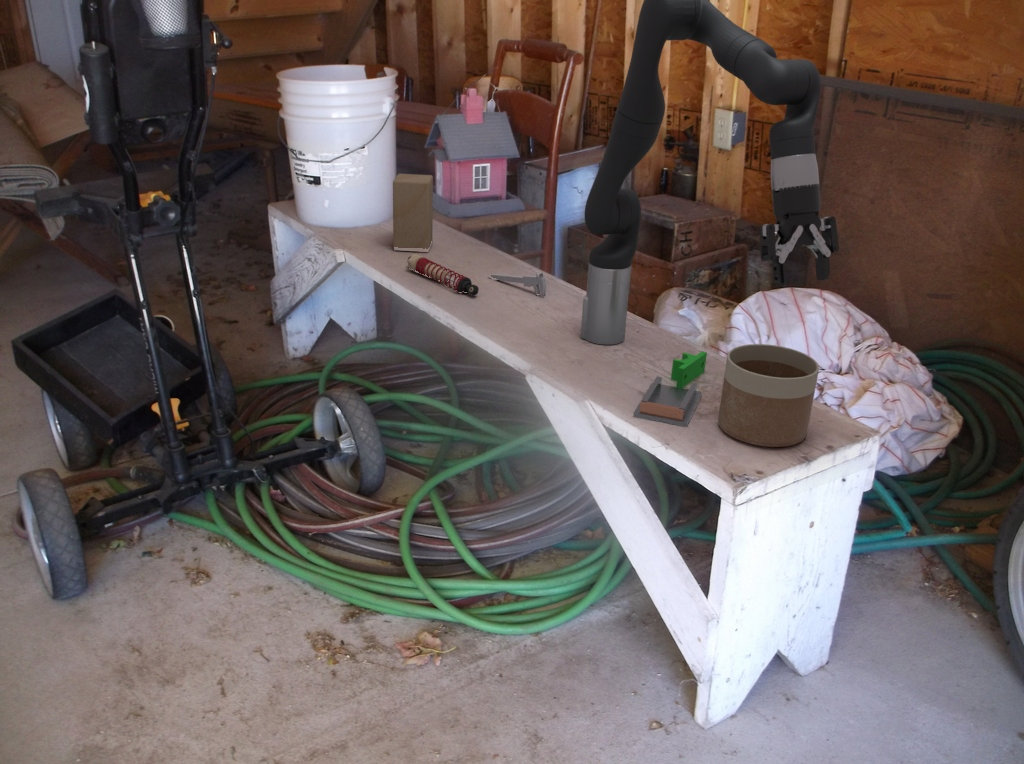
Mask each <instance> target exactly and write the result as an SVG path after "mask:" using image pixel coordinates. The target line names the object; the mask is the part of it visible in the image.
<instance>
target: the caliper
mask: <svg viewBox="0 0 1024 764" xmlns="http://www.w3.org/2000/svg"><path fill="white" fill-rule="evenodd" d="M490 276H491V277H493V278H496V279H498V280H501V281H500V282H508V283H515V284H516V283H517V284H523V287H527V288H530V287H533V290H534V294H535V295H536V294H540V297H541V296H545V297H546V293H547V283H546V277H544V273H543V272H536V274H535V275H524V276H516V275H508V274H506V275H505V274H496V273H493V274H490Z"/></svg>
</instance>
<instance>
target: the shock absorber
mask: <svg viewBox="0 0 1024 764" xmlns="http://www.w3.org/2000/svg"><path fill="white" fill-rule="evenodd" d="M407 267H408V269H409V268H410V269H413V270H414V271H415V270H416V271H418V272H419V273H421V274H424V275H425V274H426V275H427V276H428V277H429V276H430V277H432V279H436V281H438V280H440V283H442V284H443V283H445V285H446V286H447V285H449V287H450V288H449V289H451V288H452V287H454V288H453V289H454V290H453V291H455V290H457V291H458V292H462V291H464V292H468V293H467V294H469V295H470V296H476V295H478V293H479V286H478V285H475V284H473V283H472V280H471V278H469V277H467V276H465V275H464V274H459V273H458V272H455V270H451V269H450V268H447V267H446V266H442V265H441V264H438V263H437V262H434V261H432V260H430V259H428V258H426V256H422V255H419V254H416V253H413V254H412V255H409V256H408V258H407ZM410 269H409V270H410ZM414 271H413V272H414ZM421 274H420V275H421ZM453 276H454V278H452V277H453ZM432 279H431V280H432ZM448 280H449V282H448V284H447V283H446V282H447V281H448ZM452 282H453V284H452V286H451V285H450V284H451V283H452ZM442 284H441V285H442ZM446 286H445V287H446ZM458 292H457V293H458Z"/></svg>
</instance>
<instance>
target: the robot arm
mask: <svg viewBox="0 0 1024 764" xmlns="http://www.w3.org/2000/svg"><path fill="white" fill-rule="evenodd" d="M685 40H688V41H689V40H690V41H694V42H697V43H700V44H702V45H705V46H707V47H708V48H709V49H710V50H711V54H712V57H713V58H714V60H715V61H716V63H717V64H718V65H719V66H720V67H721V68H722V69H724V70H725V71H727V73H729V74H731V75H732V76H734V77H736V78H737V79H738V80H740V81H742V82H743V84H744V85H745V86H746V87H747V89H748V90H749V91H750V93H751V94H752V95H753V96H754V97H755V99H757V100H759V101H760V102H762V103H765V104H766V105H769V106H786V108H785V109H786V110H785V114H784V118H783V120H779V121H776V122H775V123H773V124H771V126H770V128H769V131H768V132H769V136H768V137H769V149H770V150H769V151H770V163H771V164H770V182H771V183H770V184H771V197H772V198H771V199H772V210H773V215H774V216H775V218H776V220H775V223H774V224H773V223H765V224H761V225H760V226H759V249H760V250H759V251H760V260H761V261H762V262H767V263H769V264H771V267H772V279H773V283H774V284H775V286H776V287H778V288H779V287H781V288H784V287H788V286H789V284H788V272H787V271H788V269H787V263H785V261H786V259H787V258H788V256H789V254H790V253H791V252H792V251H793V249H794V248H800V247H807V248H808V249H810V251H811V253H813V255H814V256H815V258H814V260H815V262H814V263H815V274H816V277H815V278H816V280H817V281H828V280H829V278H830V274H831V270H830V269H831V268H830V256H831V255H832V254H834V253H837V252H838V251H839V249H840V246H839V244H840V243H839V238H838V236H839V235H838V229H837V228H838V227H837V220H836V217H835V216H823V217H820V216H819V215H820V214H819V211H821V209H822V206H821V203H822V202H821V190H820V188H821V187H820V177H819V176H820V174H819V166H818V162H817V154H816V141H815V132H814V130H815V123H816V118H817V114H818V107H819V103H820V97H821V91H822V90H821V89H822V81H821V75H820V72H819V70H818V68H817V66H816V65H815V64H814V63H813V62H812V61H810V60H809V59H804V58H803V59H802V58H801V59H800V58H799V59H798V58H797V59H796V58H795V59H779V58H778V57H777V55H778V54H777V53H776V50H775V49H774V48H773V46H771V45H770V44H769V43H768V42H766V41H765V40H763V39H762V38H760V37H758V36H756V35H755V34H752V33H751V32H749V31H747V30H746V29H744V28H742V27H741V26H739V25H738V24H736V23H734V21H732V20H730V19H729V18H728V17H727V16H726V15H725V14H723V12H722V11H720V10H719V9H718V8H717V7H716V6H715V5H714V4H713V3H712V1H710V0H643V1H642V4H641V8H640V11H639V15H638V20H637V25H636V31H635V36H634V41H633V45H632V46H633V47H632V52H631V57H630V62H629V66H628V69H627V74H626V77H625V81H624V83H623V84H624V86H623V88H622V92H621V95H620V99H619V101H618V104H617V108H616V111H615V115H614V117H613V122H612V125H611V130H610V134H609V138H608V141H607V144H606V148H605V150H604V154H603V157H602V160H601V163H600V164H599V168H598V170H597V173H596V176H595V177H594V180H593V183H592V186H591V188H590V190H589V193H588V195H587V199H586V201H585V206H584V222H585V227H586V228H587V230H588V232H590V233H591V234H593V235H598V236H599V235H600V236H603V235H605V236H606V235H607V236H606V238H605V239H603V241H601V242H600V243H598V244H596V245H595V246H593V247H592V248H591V250H590V251H589V255H588V258H589V260H588V270H587V282H586V283H587V286H586V295H585V296H584V297H583V301H582V310H581V311H582V313H581V314H582V315H581V325H580V326H581V327H580V338H579V339H584V340H586V341H588V342H590V343H593V344H598V345H608V346H609V345H610V346H611V345H617V344H620V343H622V342H624V340H625V337H626V336H625V335H626V327H627V326H626V325H627V315H628V306H629V305H628V304H629V293H630V286H631V285H630V283H631V273H632V263H633V259H634V256H635V254H636V252H637V248H638V240H639V233H640V227H641V219H642V207H641V200H640V198H639V195H638V194H637V193H636V192H635V191H634V190H633V189H630V188H622V186H623V184H624V182H625V181H626V179H627V177H628V176H629V174H630V173H631V172H632V171H633V169H635V167H636V166H637V165H638V164H639V163H640V162H641V161H642V160H643V158H645V156H646V155H647V154H648V153H649V151H651V149H652V148H653V146H654V145H655V143H656V141H657V139H658V135H659V133H660V131H661V130H660V129H661V126H662V123H663V120H664V116H665V112H666V101H665V96H664V91H663V87H662V84H661V80H660V74H659V69H660V68H659V66H660V62H661V61H660V60H661V58H662V57H661V56H662V53H663V49H664V47H665V44H666V42H667V41H685ZM819 231H820V232H821V233H820V232H819ZM776 236H778V238H777V240H776Z"/></svg>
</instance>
